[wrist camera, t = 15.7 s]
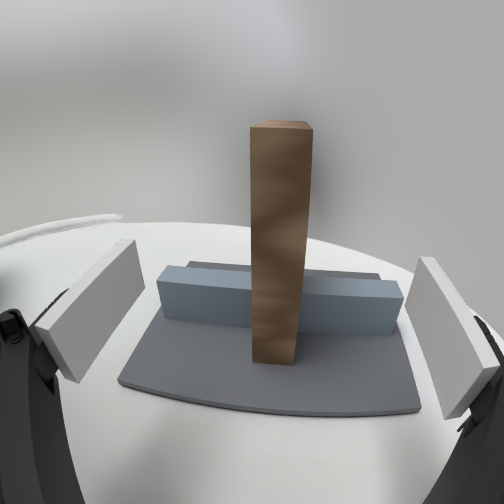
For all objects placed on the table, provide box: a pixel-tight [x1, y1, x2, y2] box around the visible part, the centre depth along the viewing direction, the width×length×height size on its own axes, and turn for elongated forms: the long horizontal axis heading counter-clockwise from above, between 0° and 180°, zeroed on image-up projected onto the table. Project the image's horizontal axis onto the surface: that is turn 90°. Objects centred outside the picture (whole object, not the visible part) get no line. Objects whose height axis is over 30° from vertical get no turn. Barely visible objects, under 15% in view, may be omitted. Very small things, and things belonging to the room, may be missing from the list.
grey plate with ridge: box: [117, 261, 422, 416], centre depth 24 cm, size 22×18×5 cm
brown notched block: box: [250, 120, 313, 366], centre depth 21 cm, size 3×10×16 cm, turn 172°
